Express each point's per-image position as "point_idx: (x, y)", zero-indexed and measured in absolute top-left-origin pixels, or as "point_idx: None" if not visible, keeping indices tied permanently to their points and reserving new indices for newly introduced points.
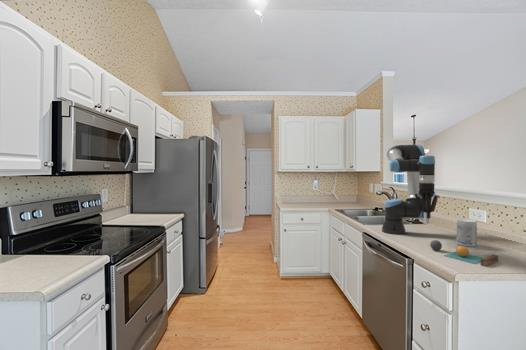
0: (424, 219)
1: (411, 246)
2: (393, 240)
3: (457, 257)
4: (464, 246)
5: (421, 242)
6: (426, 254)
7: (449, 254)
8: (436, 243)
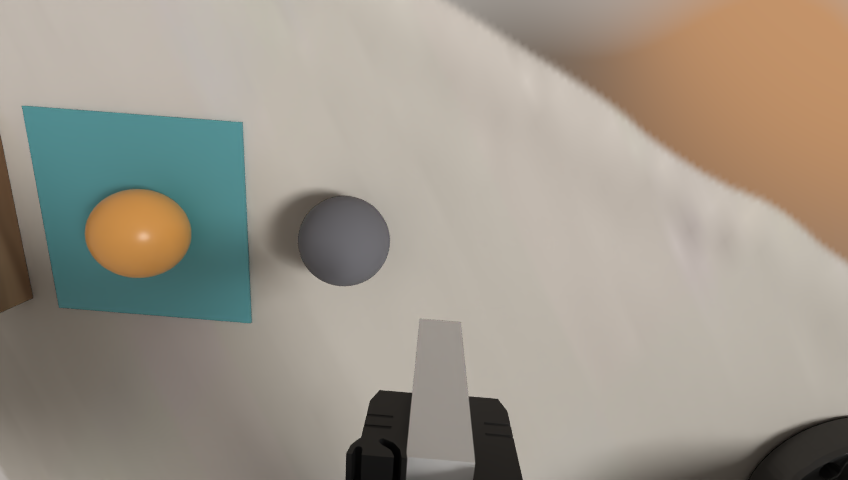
0: (449, 359)
1: (528, 172)
2: (727, 229)
3: (162, 158)
4: (99, 254)
5: (528, 357)
6: (333, 37)
7: (232, 188)
8: (318, 216)
